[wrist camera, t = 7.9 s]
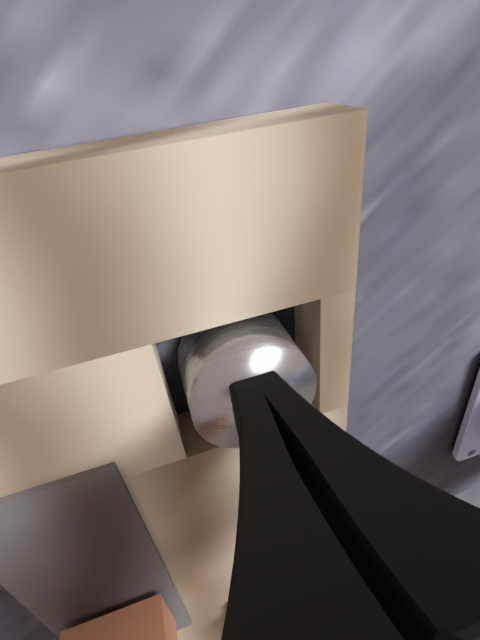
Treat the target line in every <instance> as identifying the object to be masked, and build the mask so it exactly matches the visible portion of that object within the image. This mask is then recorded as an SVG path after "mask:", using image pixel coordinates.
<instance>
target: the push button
mask: <svg viewBox="0 0 480 640" xmlns="http://www.w3.org/2000/svg"><path fill="white" fill-rule="evenodd" d="M177 362H178V367H179V371H180V375H181V379H182V383H183V387H184V390H185V394H186V398H187V402H188V406H189V410H190V414H191V417H192V421H193V424H194V427H195V429H196V430H197V432H198V433H199V434H200V435H201V437H202V438H204V439H205V440H206V441H208V442H210V443H212V444H214V445H217V446H221V447H225V448H239V437H238V433H237V430H236V425H235V419H234V414H233V408H232V403H231V397H230V392H229V386H230V385H231V383H233V382H236V381H240V380H243V379H246V378H250V377H253V376H257V375H260V374H263V373H266V372H270V371H275V372H276V373H278V374H279V375H280V376H281V377H282V378H283V379H284V380H285V381H286V382H287V383H288V384H289V385H290V386H291V387H292V388H293V389H294V390H295V391H296V392H298V393H299V394H300V395H301V396H302V397H303V398H304V399H306V400H307V401H308V402H309V403H310V404H312V402H313V399H314V397H315V393H316V386H317V381H316V375H315V372H314V370H313V368H312V366H311V365H310V363H309V362H308V360H307V359H306V358H305V356H304V355H303V353H302V352H301V351H300V349H299V348H298V346H297V345H296V343H295V342H294V341H293V339H292V338H291V336H290V335H289V334H288V332H287V331H286V329H285V328H284V327H283V325H282V324H281V322H280V321H279V320H278V318H277V317H276V316H275V315H274V314H273V313H272V312H270V313H267V314H263V315H259V316H256V317H252V318H248V319H244V320H241V321H237V322H233V323H229V324H226V325H222V326H218V327H214V328H211V329H207V330H203V331H199V332H196V333H192V334H188V335H184V336H183V338H182V340H181V342H180V345H179V348H178V354H177Z"/></svg>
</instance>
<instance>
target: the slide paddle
mask: <svg viewBox="0 0 480 640" xmlns="http://www.w3.org/2000/svg"><path fill="white" fill-rule="evenodd" d="M60 640H178V636H177V629H176V621H175V619H174V617H173V615H172V614H171V612H170V610H169V608H168V606H167V605H166V603H165V601H164V599H163V597H162V596H161V594H158V595H155V596H153V597H150V598H148V599H145V600H142V601H140V602H137V603H135V604H132V605H129V606H127V607H124V608H122V609H119V610H116V611H114V612H111V613H109V614H106V615H103V616H101V617H98V618H96V619H93V620H90V621H88V622H85V623H83V624H80V625H77V626H75V627H72V628H70V629H67V630H64V631H62V632H60Z"/></svg>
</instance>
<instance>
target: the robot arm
mask: <svg viewBox="0 0 480 640" xmlns="http://www.w3.org/2000/svg"><path fill="white" fill-rule="evenodd" d="M229 392H230V397H231V403H232V408H233V414H234V419H235V425H236V430H237V433H238V437H239V457H240V483H239V506H238V520H237V531H236V542H235V552H234V560H233V568H232V575H231V582H230V589H229V596H228V602H227V609H226V615H225V621H224V627H223V632H222V637H221V640H480V508H478V507H476V506H474V505H471V504H469V503H467V502H465V501H463V500H461V499H459V498H457V497H455V496H453V495H451V494H449V493H447V492H445V491H443V490H441V489H439V488H437V487H435V486H434V485H432V484H430V483H428V482H426V481H424V480H422V479H420V478H418V477H416V476H414V475H413V474H411V473H409V472H407V471H406V470H404V469H402V468H401V467H399V466H397V465H396V464H394V463H392V462H391V461H389V460H387V459H386V458H384V457H383V456H381V455H379V454H378V453H376V452H375V451H373V450H372V449H370V448H369V447H367V446H366V445H364V444H363V443H361V442H360V441H358V440H357V439H355V438H354V437H353V436H351V435H350V434H348V433H347V432H346V431H344V430H343V429H342V428H340V427H339V426H338V425H336V424H335V423H334V422H332V421H331V420H330V419H329V418H327V417H326V416H325V415H324V414H322V413H321V412H320V411H319V410H317V409H316V408H315V407H314V406H313V405H311V404H310V403H309V402H308V401H307V400H306V399H304V398H303V397H302V396H301V395H300V394H299V393H298V392H296V391H295V390H294V389H293V388H292V387H291V386H290V385H289V384H288V383H287V382H286V381H285V380H284V379H283V378H282V377H281V376H280V375H279V374H278V373H276V372H275V371H270V372H266V373H263V374H260V375H257V376H253V377H250V378H246V379H243V380H240V381H236V382H233V383H231V385H230V386H229ZM478 454H480V368H479V371H478V374H477V378H476V381H475V384H474V387H473V390H472V393H471V396H470V399H469V402H468V405H467V408H466V412H465V415H464V418H463V421H462V424H461V427H460V430H459V433H458V436H457V439H456V442H455V446H454V449H453V452H452V456H453V457H454V458H455V459H456V460H457V461H462V460H465V459H468V458H470V457H473V456H476V455H478Z"/></svg>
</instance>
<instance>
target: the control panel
mask: <svg viewBox="0 0 480 640" xmlns="http://www.w3.org/2000/svg"><path fill="white" fill-rule="evenodd" d="M367 117H368V109H366V108H359V107H352V106H346V105H339V104H332V103H320V104H314V105H308V106H302V107H296V108H290V109H284V110H278V111H273V112H267V113H261V114H255V115H249V116H243V117H237V118H231V119H225V120H219V121H213V122H207V123H202V124H196V125H190V126H184V127H178V128H172V129H166V130H160V131H154V132H148V133H142V134H136V135H131V136H125V137H119V138H113V139H107V140H101V141H95V142H89V143H83V144H77V145H71V146H66V147H60V148H54V149H48V150H42V151H36V152H30V153H24V154H18V155H12V156H6V157H0V585H1V586H2V587H3V588H4V589H6V590H7V591H8V592H9V593H10V594H11V595H12V596H13V597H14V598H15V599H16V600H18V601H19V602H20V603H21V604H22V605H23V606H24V607H25V608H26V609H27V610H28V611H30V612H31V613H32V614H33V615H34V616H35V617H36V618H37V619H38V620H39V621H40V622H42V623H43V624H44V625H45V626H46V627H47V628H48V629H49V630H50V631H51V632H52V633H54V634H55V635H56V636H57V637H58V638H59V639H60V632H62V631H64V630H67V629H70V628H72V627H75V626H77V625H80V624H83V623H85V622H88V621H90V620H93V619H96V618H98V617H101V616H103V615H106V614H109V613H111V612H114V611H116V610H119V609H122V608H124V607H127V606H129V605H132V604H135V603H137V602H140V601H142V600H145V599H148V598H150V597H153V596H155V595H158V594H161V596H162V597H163V599H164V601H165V603H166V605H167V606H168V608H169V610H170V612H171V614H172V615H173V617H174V619H175V621H176V629H177V636H178V640H221V637H222V632H223V627H224V621H225V615H226V609H227V602H228V596H229V589H230V582H231V575H232V568H233V560H234V552H235V542H236V531H237V520H238V506H239V483H240V457H239V448H225V447H221V446H217V445H214V444H212V443H210V442H208V441H206V440H205V439H204V438H202V437H201V435H200V434H199V433H198V432H197V430H196V429H195V427H194V424H193V421H192V417H191V414H190V411H186V412H183V413H180V414H177V412H176V409H175V406H174V402H173V399H172V396H171V392H170V389H169V386H168V383H167V379H166V376H165V373H164V369H163V366H162V363H161V359H160V356H159V353H158V349H157V346H156V343H158V342H162V341H166V340H170V339H173V338H177V337H181V336H184V335H188V334H192V333H196V332H199V331H203V330H207V329H211V328H214V327H218V326H222V325H226V324H229V323H233V322H237V321H241V320H244V319H248V318H252V317H256V316H259V315H263V314H267V313H270V312H274V311H278V310H282V309H285V308H289V307H293V306H294V324H295V343H296V345H297V346H298V348H299V349H300V351H301V352H302V353H303V355H304V356H305V358H306V359H307V360H308V362H309V363H310V365H311V366H312V368H313V370H314V372H315V375H316V381H317V386H316V393H315V397H314V399H313V402H312V404H311V405H313V406H314V407H315V408H316V409H317V410H319V411H320V412H321V413H322V414H324V415H325V416H326V417H327V418H329V419H330V420H331V421H332V422H334V423H335V424H336V425H338V426H339V427H340V428H342V429H343V430H344V431H346V426H347V411H348V396H349V382H350V367H351V352H352V338H353V323H354V308H355V294H356V279H357V264H358V250H359V235H360V220H361V205H362V191H363V176H364V161H365V147H366V132H367Z"/></svg>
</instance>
